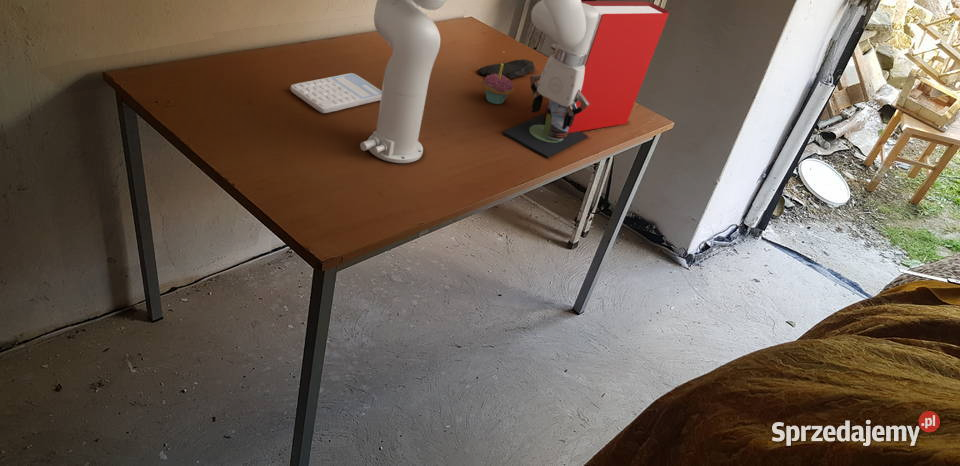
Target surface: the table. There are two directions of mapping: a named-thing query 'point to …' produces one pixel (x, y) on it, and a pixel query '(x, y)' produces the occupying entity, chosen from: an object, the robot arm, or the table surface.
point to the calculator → (337, 92)
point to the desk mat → (541, 137)
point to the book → (617, 61)
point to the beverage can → (555, 121)
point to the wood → (509, 69)
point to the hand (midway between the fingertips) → (550, 119)
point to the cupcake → (497, 87)
